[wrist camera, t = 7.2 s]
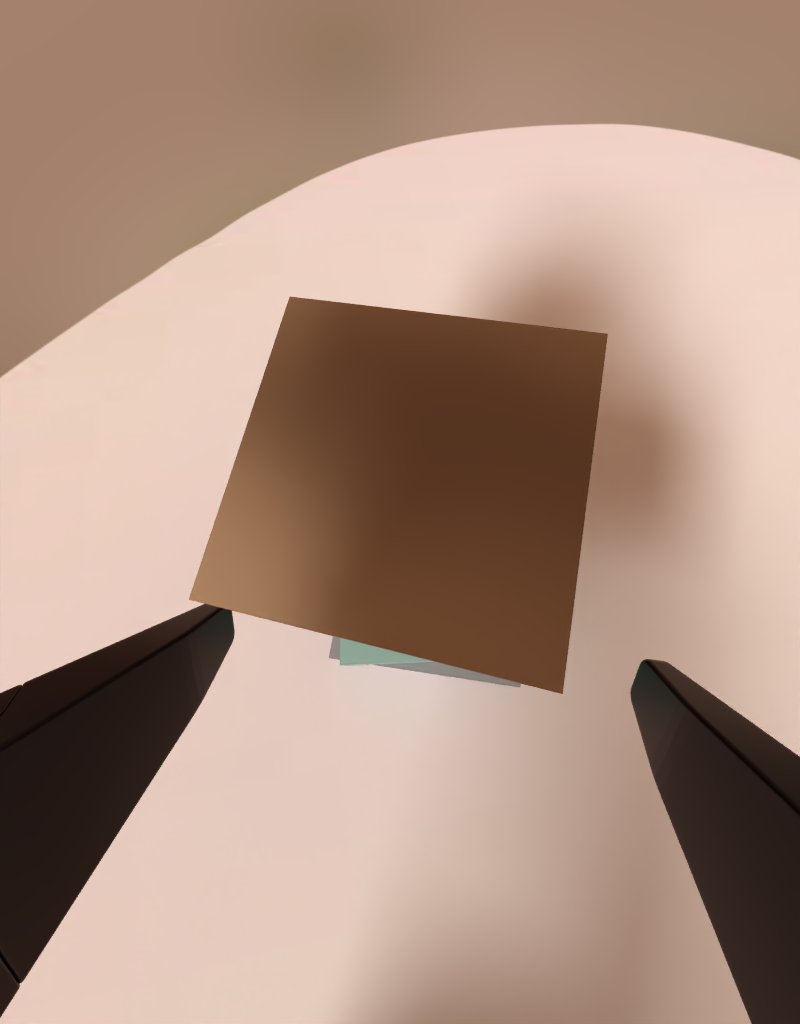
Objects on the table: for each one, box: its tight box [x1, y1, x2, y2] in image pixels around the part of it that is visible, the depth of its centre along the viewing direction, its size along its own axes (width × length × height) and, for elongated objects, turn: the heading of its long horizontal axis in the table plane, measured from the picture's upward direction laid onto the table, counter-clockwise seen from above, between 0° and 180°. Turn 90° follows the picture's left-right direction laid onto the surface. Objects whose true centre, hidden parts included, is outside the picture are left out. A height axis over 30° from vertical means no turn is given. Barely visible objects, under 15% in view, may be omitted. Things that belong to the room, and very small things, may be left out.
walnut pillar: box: [189, 297, 608, 694], centre depth 12 cm, size 5×5×12 cm
